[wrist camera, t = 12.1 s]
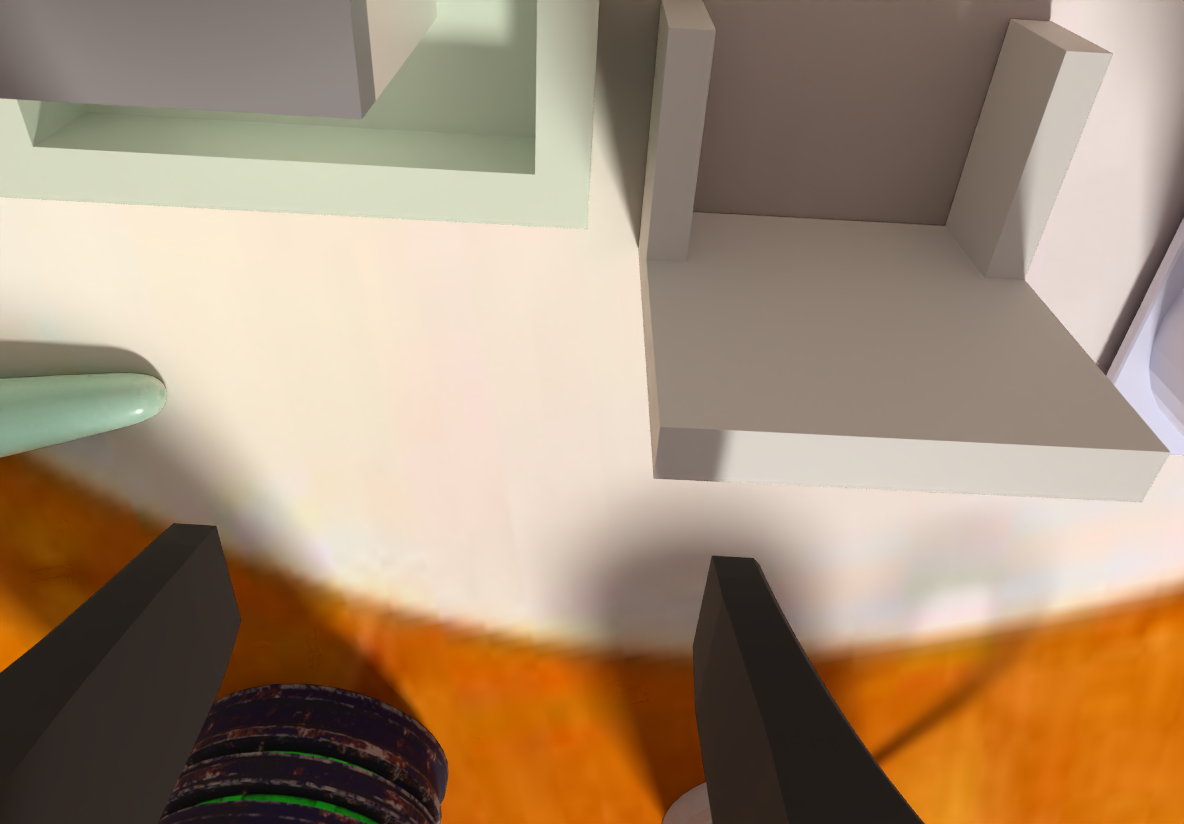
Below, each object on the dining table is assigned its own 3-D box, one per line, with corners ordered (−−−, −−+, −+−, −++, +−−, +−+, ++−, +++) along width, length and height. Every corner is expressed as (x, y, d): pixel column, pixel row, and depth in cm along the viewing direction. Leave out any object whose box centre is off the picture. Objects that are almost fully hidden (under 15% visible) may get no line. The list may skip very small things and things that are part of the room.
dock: (1050, 20, 17) (1334, 170, 10) (966, 268, 20) (1141, 502, 13) (661, -2, 16) (696, 134, 10) (638, 250, 20) (653, 478, 13)
